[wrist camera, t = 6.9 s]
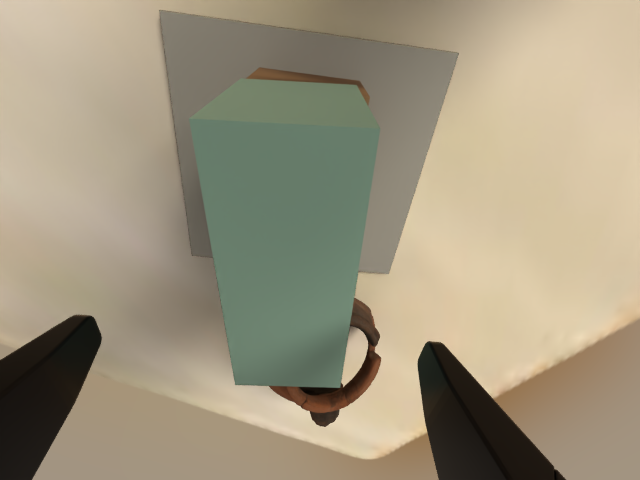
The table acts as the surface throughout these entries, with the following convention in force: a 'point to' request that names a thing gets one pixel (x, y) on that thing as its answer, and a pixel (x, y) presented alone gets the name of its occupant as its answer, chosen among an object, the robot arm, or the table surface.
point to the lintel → (286, 222)
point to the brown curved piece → (330, 400)
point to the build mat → (325, 60)
